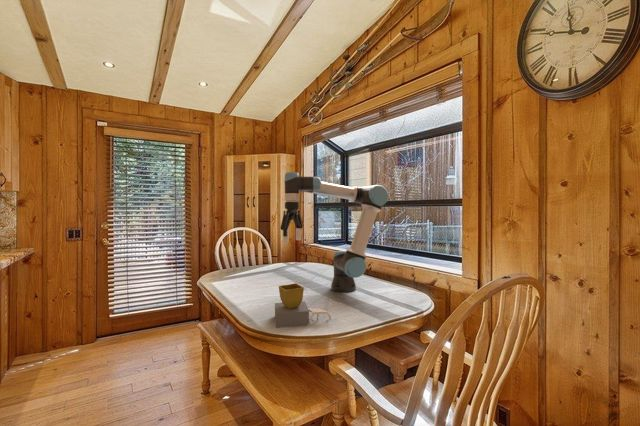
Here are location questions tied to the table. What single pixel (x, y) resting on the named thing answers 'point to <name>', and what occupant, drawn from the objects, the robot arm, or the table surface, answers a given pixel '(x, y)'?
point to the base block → (291, 315)
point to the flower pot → (291, 295)
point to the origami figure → (318, 311)
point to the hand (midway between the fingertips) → (292, 241)
